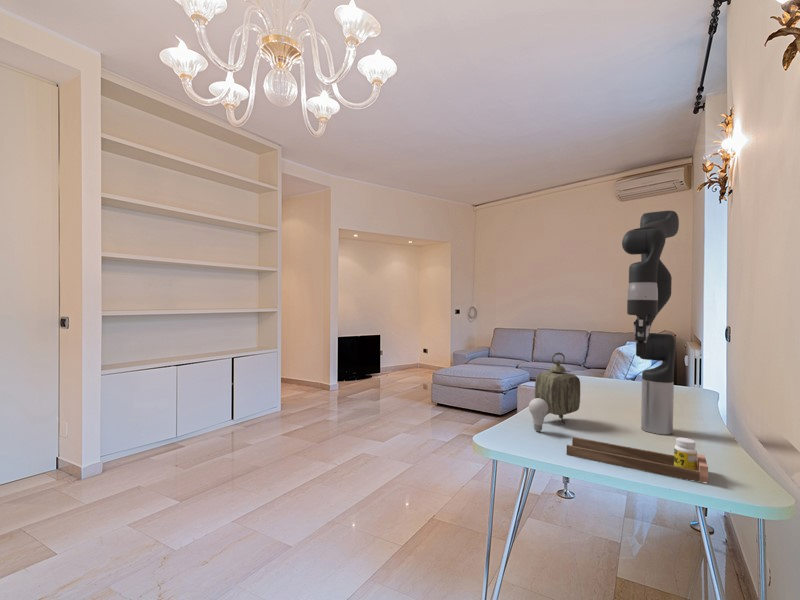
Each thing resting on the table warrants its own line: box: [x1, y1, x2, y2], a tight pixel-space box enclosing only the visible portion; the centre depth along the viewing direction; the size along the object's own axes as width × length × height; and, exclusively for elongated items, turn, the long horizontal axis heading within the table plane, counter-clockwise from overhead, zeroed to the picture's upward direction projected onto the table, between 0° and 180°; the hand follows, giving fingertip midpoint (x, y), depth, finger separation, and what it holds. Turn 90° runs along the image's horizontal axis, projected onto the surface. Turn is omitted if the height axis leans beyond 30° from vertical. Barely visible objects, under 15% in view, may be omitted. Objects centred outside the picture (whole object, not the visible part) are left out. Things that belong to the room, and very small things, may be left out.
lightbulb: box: [528, 397, 548, 433], centre depth 134 cm, size 6×6×11 cm
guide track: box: [566, 436, 709, 484], centre depth 109 cm, size 10×32×4 cm, turn 57°
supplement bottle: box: [673, 437, 698, 470], centre depth 103 cm, size 5×5×8 cm
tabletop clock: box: [534, 352, 581, 425], centre depth 146 cm, size 14×9×25 cm, turn 121°
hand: (641, 355), depth 116 cm, fingers open, 8 cm apart
